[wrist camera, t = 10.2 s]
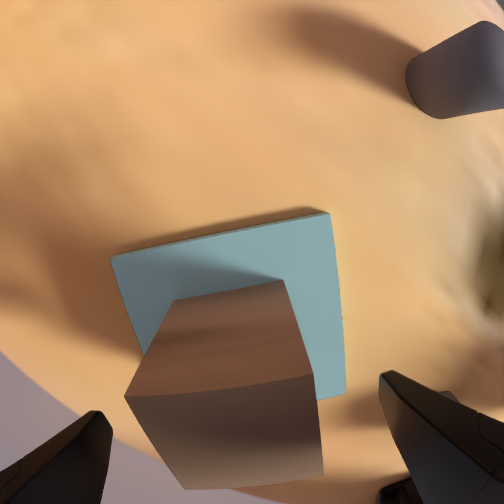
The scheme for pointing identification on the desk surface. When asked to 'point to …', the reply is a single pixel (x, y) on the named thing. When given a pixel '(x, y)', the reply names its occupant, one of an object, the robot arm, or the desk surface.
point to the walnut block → (230, 391)
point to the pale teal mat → (247, 282)
